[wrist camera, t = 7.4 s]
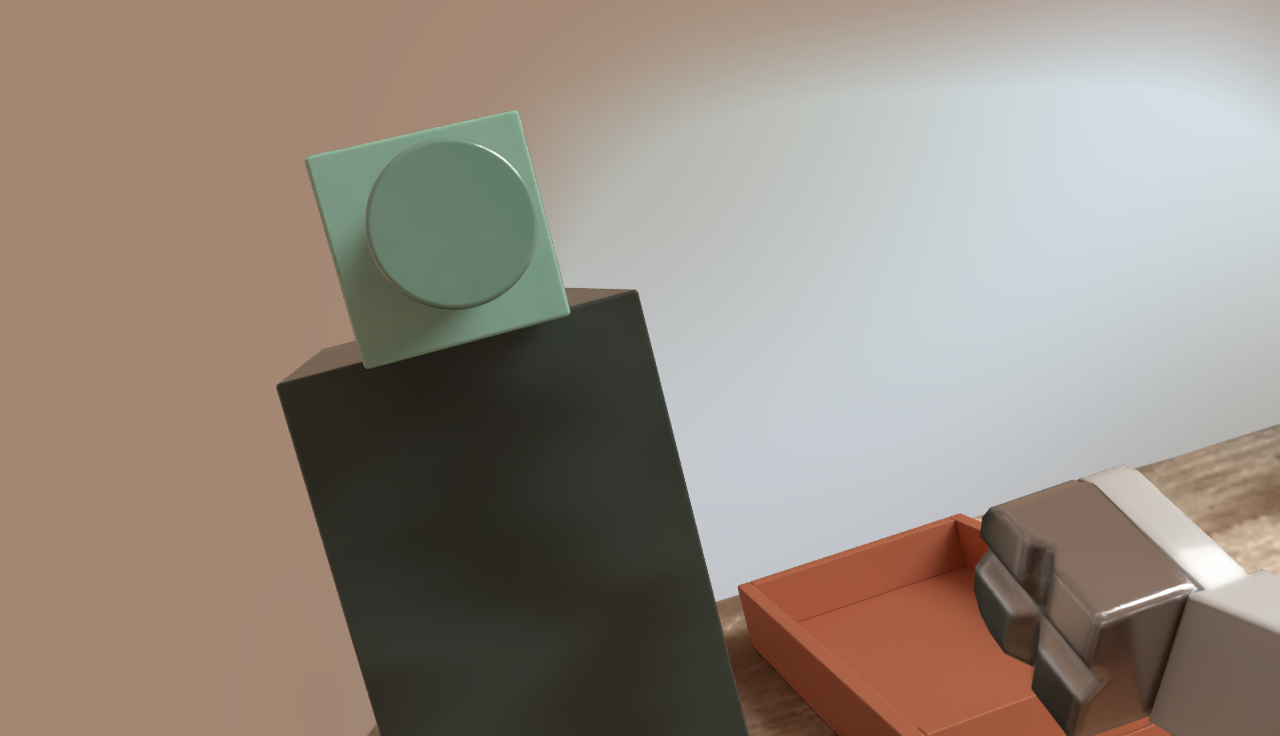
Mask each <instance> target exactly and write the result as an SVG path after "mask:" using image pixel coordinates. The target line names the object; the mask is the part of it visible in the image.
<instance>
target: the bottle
mask: <svg viewBox="0 0 1280 736" xmlns="http://www.w3.org/2000/svg"><path fill="white" fill-rule="evenodd" d="M305 164H306V168H307V171H308V175H309V178H310V182H311V185H312V189H313V192H314V196H315V199H316V203H317V206H318V210H319V213H320V217H321V220H322V224H323V227H324V230H325V233H326V238H327V241H328V244H329V248H330V251H331V255H332V258H333V262H334V265H335V269H336V272H337V276H338V279H339V283H340V286H341V290H342V293H343V297H344V300H345V304H346V307H347V311H348V314H349V318H350V321H351V324H352V328H353V331H354V335H355V338H356V342H357V345H358V349H359V352H360V356H361V359H362V363H363V366H364V367H365V368H366V369H372V368H376V367H379V366H383V365H387V364H391V363H394V362H398V361H402V360H406V359H409V358H413V357H417V356H421V355H424V354H428V353H432V352H436V351H440V350H443V349H447V348H451V347H455V346H458V345H462V344H466V343H470V342H473V341H477V340H481V339H485V338H488V337H492V336H496V335H500V334H504V333H507V332H511V331H515V330H519V329H522V328H526V327H530V326H534V325H537V324H541V323H545V322H549V321H552V320H556V319H560V318H564V317H567V316H569V315H570V307H569V304H568V300H567V296H566V292H565V288H564V284H563V281H562V277H561V273H560V269H559V265H558V261H557V257H556V253H555V250H554V246H553V242H552V238H551V234H550V230H549V227H548V223H547V219H546V215H545V211H544V207H543V203H542V200H541V196H540V192H539V188H538V184H537V181H536V176H535V173H534V169H533V165H532V161H531V158H530V153H529V149H528V145H527V142H526V138H525V134H524V130H523V126H522V122H521V118H520V115H519V113H518V111H516V110H511V111H507V112H502V113H498V114H493V115H489V116H485V117H480V118H475V119H471V120H467V121H462V122H458V123H454V124H449V125H444V126H440V127H436V128H431V129H427V130H422V131H418V132H414V133H409V134H404V135H400V136H396V137H391V138H387V139H383V140H378V141H373V142H369V143H365V144H360V145H356V146H351V147H347V148H342V149H338V150H333V151H329V152H325V153H320V154H316V155H312V156H308V157H307V158H305Z"/></svg>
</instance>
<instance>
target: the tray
mask: <svg viewBox="0 0 1280 736" xmlns="http://www.w3.org/2000/svg"><path fill="white" fill-rule="evenodd" d="M981 523H982V522H979V521H977V520H975V519H972V518H970V517H967V516H965V515H963V514H957V515H954V516H951V517H948V518H945V519H941V520H939V521H935V522H932V523H929V524H926V525H923V526H920V527H917V528H914V529H911V530H908V531H905V532H901V533H899V534H895V535H892V536H889V537H886V538H883V539H880V540H877V541H874V542H871V543H868V544H865V545H862V546H858V547H855V548H853V549H849V550H846V551H843V552H841V553H837V554H834V555H831V556H828V557H825V558H822V559H818V560H816V561H812V562H809V563H806V564H803V565H801V566H797V567H794V568H791V569H788V570H785V571H782V572H779V573H775V574H773V575H769V576H766V577H763V578H760V579H757V580H754V581H751V582H748V583H745V584H742V585H739V586H738V590H739V595H740V599H741V603H742V607H743V611H744V615H745V619H746V623H747V627H748V631H749V633H750V639H751V643H752V646H753V647H754V648H755V649H756V650H757V651H758V652H759V653H760V654H761V655H762V656H763V657H764V658H765V660H766V661H767V662H768V663H769V664H770V665H771V666H772V667H773V668H774V669H775V670H776V671H777V672H778V673H779V674H780V675H781V676H782V677H783V678H784V679H785V681H786V682H787V683H788V684H789V685H790V686H791V687H792V688H793V689H794V690H795V691H796V692H797V693H798V694H799V695H800V696H801V697H802V698H803V699H804V700H805V701H806V703H807V704H808V705H809V706H810V707H811V708H812V709H813V710H814V711H815V712H816V713H817V714H818V715H819V716H820V717H821V718H822V719H823V720H824V721H825V722H826V724H827V725H828V726H829V727H830V728H831V729H832V730H833V731H834V732H835V733H836V734H837V735H838V736H1067V735H1066V734H1065V733H1064V731H1063V730H1062V729H1061V727H1060V726H1059V725H1058V724H1057V722H1056V721H1055V720H1054V718H1053V717H1052V716H1051V714H1050V713H1049V712H1048V710H1047V709H1046V708H1045V706H1044V705H1043V704H1042V703H1041V701H1040V700H1039V699H1038V697H1037V696H1036V695H1035V693H1034V692H1033V691H1032V689H1031V667H1032V666H1030V665H1028V664H1026V663H1024V662H1021V661H1019V660H1017V659H1015V658H1013V657H1011V656H1009V655H1007V654H1005V653H1004V652H1003V651H1002V649H1001V648H1000V646H999V645H998V644H997V642H996V641H995V640H994V638H993V637H992V635H991V634H990V632H989V630H988V628H987V626H986V624H985V623H984V621H983V619H982V617H981V615H980V611H979V607H978V604H977V600H976V596H975V592H974V579H975V566H976V565H977V564H978V562H979V561H980V560H981V559H982V557H983V556H984V555H985V553H986V552H987V551H988V549H989V547H988V545H987V544H986V543H985V542H984V540H983V539H982V538H981V537H980V530H981ZM1149 719H1150V716H1149V717H1146V718H1143V719H1140V720H1137V721H1134V722H1131V723H1128V724H1126V725H1123V726H1120V727H1117V728H1114V729H1111V730H1108V731H1105V732H1102V733H1099V734H1096V735H1093V736H1173V735H1171V734H1170V733H1168V732H1166V731H1165V730H1163V729H1161V728H1159V727H1158V726H1156V725H1154V724H1153V723H1151V722H1149Z"/></svg>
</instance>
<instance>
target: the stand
mask: <svg viewBox="0 0 1280 736" xmlns="http://www.w3.org/2000/svg"><path fill="white" fill-rule="evenodd" d="M565 292H566V296H567V300H568V304H569V307H570V315H569V316H567V317H564V318H560V319H556V320H552V321H549V322H545V323H541V324H537V325H534V326H530V327H526V328H522V329H519V330H515V331H511V332H507V333H504V334H500V335H496V336H492V337H488V338H485V339H481V340H477V341H473V342H470V343H466V344H462V345H458V346H455V347H451V348H447V349H443V350H440V351H436V352H432V353H428V354H424V355H421V356H417V357H413V358H409V359H406V360H402V361H398V362H394V363H391V364H387V365H383V366H379V367H376V368H372V369H366V368H365V367H364V366H363V363H362V359H361V356H360V352H359V349H358V345H357V342H356V341H353V342H349V343H345V344H341V345H337V346H333V347H329V348H326V349H323V350H321V351H320V352H319V353H317V354H316V355H315V356H314V357H312V358H311V359H310V360H308V361H307V362H306V363H304V364H303V365H302V366H301V367H300V368H298V369H297V370H296V371H294V372H293V373H292V374H290V375H289V376H288V377H286V378H285V379H284V380H283V381H282V382H280V383H279V384H277V388H276V389H277V392H278V395H279V399H280V402H281V405H282V408H283V412H284V415H285V419H286V422H287V425H288V429H289V432H290V435H291V439H292V442H293V445H294V448H295V452H296V455H297V459H298V462H299V465H300V468H301V472H302V475H303V479H304V482H305V485H306V489H307V492H308V495H309V499H310V502H311V505H312V509H313V512H314V515H315V519H316V522H317V526H318V529H319V532H320V536H321V539H322V542H323V546H324V549H325V552H326V555H327V559H328V562H329V565H330V569H331V572H332V575H333V579H334V582H335V585H336V589H337V592H338V595H339V599H340V602H341V606H342V608H343V612H344V616H345V619H346V622H347V626H348V629H349V632H350V636H351V639H352V642H353V646H354V649H355V652H356V656H357V659H358V663H359V666H360V669H361V672H362V675H363V679H364V682H365V686H366V689H367V692H368V696H369V699H370V702H371V706H372V709H373V713H374V716H375V719H376V723H377V726H378V729H379V733H380V736H749V734H748V730H747V726H746V722H745V718H744V714H743V710H742V706H741V702H740V698H739V694H738V690H737V686H736V682H735V678H734V674H733V670H732V666H731V662H730V658H729V654H728V650H727V646H726V642H725V638H724V634H723V630H722V626H721V622H720V618H719V614H718V610H717V606H716V602H715V598H714V594H713V590H712V586H711V582H710V578H709V574H708V570H707V566H706V562H705V558H704V554H703V550H702V547H701V542H700V539H699V534H698V530H697V526H696V522H695V518H694V514H693V510H692V506H691V502H690V498H689V494H688V490H687V486H686V482H685V478H684V474H683V470H682V466H681V462H680V458H679V454H678V450H677V447H676V442H675V439H674V434H673V430H672V426H671V422H670V419H669V414H668V410H667V406H666V402H665V398H664V394H663V390H662V386H661V382H660V378H659V374H658V370H657V366H656V362H655V358H654V354H653V350H652V346H651V343H650V338H649V335H648V330H647V326H646V322H645V318H644V314H643V310H642V306H641V302H640V299H639V294H638V292H637V291H636V290H627V289H589V288H588V289H587V288H565Z"/></svg>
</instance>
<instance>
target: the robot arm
mask: <svg viewBox="0 0 1280 736" xmlns="http://www.w3.org/2000/svg"><path fill="white" fill-rule="evenodd" d="M980 537H981V538H982V539H983V540H984V542H985V543H986V544H987V545H988V547H989V549H988V551H987V552H986V553H985V555H984V556H983V557H982V559H981V560H980V561H979V562H978V564H977V565H976V566H975V579H974V592H975V596H976V600H977V604H978V607H979V611H980V615H981V617H982V619H983V621H984V623H985V624H986V626H987V628H988V630H989V632H990V634H991V635H992V637H993V638H994V640H995V641H996V642H997V644H998V645H999V646H1000V648H1001V649H1002V651H1003V652H1004V653H1005V654H1007V655H1009V656H1011V657H1013V658H1015V659H1017V660H1019V661H1021V662H1024V663H1026V664H1028V665H1030V666H1032V667H1031V689H1032V691H1033V692H1034V693H1035V695H1036V696H1037V697H1038V699H1039V700H1040V701H1041V703H1042V704H1043V705H1044V706H1045V708H1046V709H1047V710H1048V712H1049V713H1050V714H1051V716H1052V717H1053V718H1054V720H1055V721H1056V722H1057V724H1058V725H1059V726H1060V727H1061V729H1062V730H1063V731H1064V733H1065V734H1066V735H1067V736H1093V735H1096V734H1099V733H1102V732H1105V731H1108V730H1111V729H1114V728H1117V727H1120V726H1123V725H1126V724H1128V723H1131V722H1134V721H1137V720H1140V719H1143V718H1146V717H1149V716H1150V719H1149V722H1151V723H1153V724H1154V725H1156V726H1158V727H1159V728H1161V729H1163V730H1165V731H1166V732H1168V733H1170V734H1171V735H1173V736H1280V576H1278V575H1275V574H1273V573H1270V572H1267V571H1265V570H1259V571H1255V572H1252V573H1248V572H1247V571H1246V570H1244V569H1243V568H1242V567H1241V566H1240V565H1239V564H1238V563H1237V562H1236V561H1235V560H1234V559H1233V558H1231V557H1230V556H1229V555H1228V554H1227V553H1226V552H1225V551H1224V550H1223V549H1222V548H1221V547H1220V546H1219V545H1217V544H1216V543H1215V542H1214V541H1213V540H1212V539H1211V538H1210V537H1209V536H1208V535H1207V534H1206V533H1205V532H1203V531H1202V530H1201V529H1200V528H1199V527H1198V526H1197V525H1196V524H1195V523H1194V522H1193V521H1192V520H1190V519H1189V518H1188V517H1187V516H1186V515H1185V514H1184V513H1183V512H1182V511H1181V510H1180V509H1179V508H1178V507H1176V506H1175V505H1174V504H1173V503H1172V502H1171V501H1170V500H1169V499H1168V498H1167V497H1166V496H1165V495H1163V494H1162V493H1161V492H1160V491H1159V490H1158V489H1157V488H1156V487H1155V486H1154V485H1153V484H1152V483H1151V482H1149V481H1148V480H1147V479H1146V478H1145V477H1144V476H1143V475H1142V474H1141V473H1140V472H1138V471H1137V470H1136V469H1133V468H1131V467H1128V466H1126V465H1121V466H1118V467H1114V468H1111V469H1108V470H1105V471H1102V472H1099V473H1096V474H1093V475H1090V476H1087V477H1083V478H1080V479H1078V480H1076V481H1075V480H1070V481H1067V482H1065V483H1062V484H1059V485H1056V486H1053V487H1050V488H1047V489H1044V490H1041V491H1038V492H1035V493H1032V494H1030V495H1026V496H1023V497H1020V498H1017V499H1015V500H1012V501H1009V502H1006V503H1003V504H1000V505H997V506H994V507H991V508H990V509H989V510H988V511H987V512H986V514H985V515H984V516H983V517H982V523H981V530H980Z"/></svg>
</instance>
